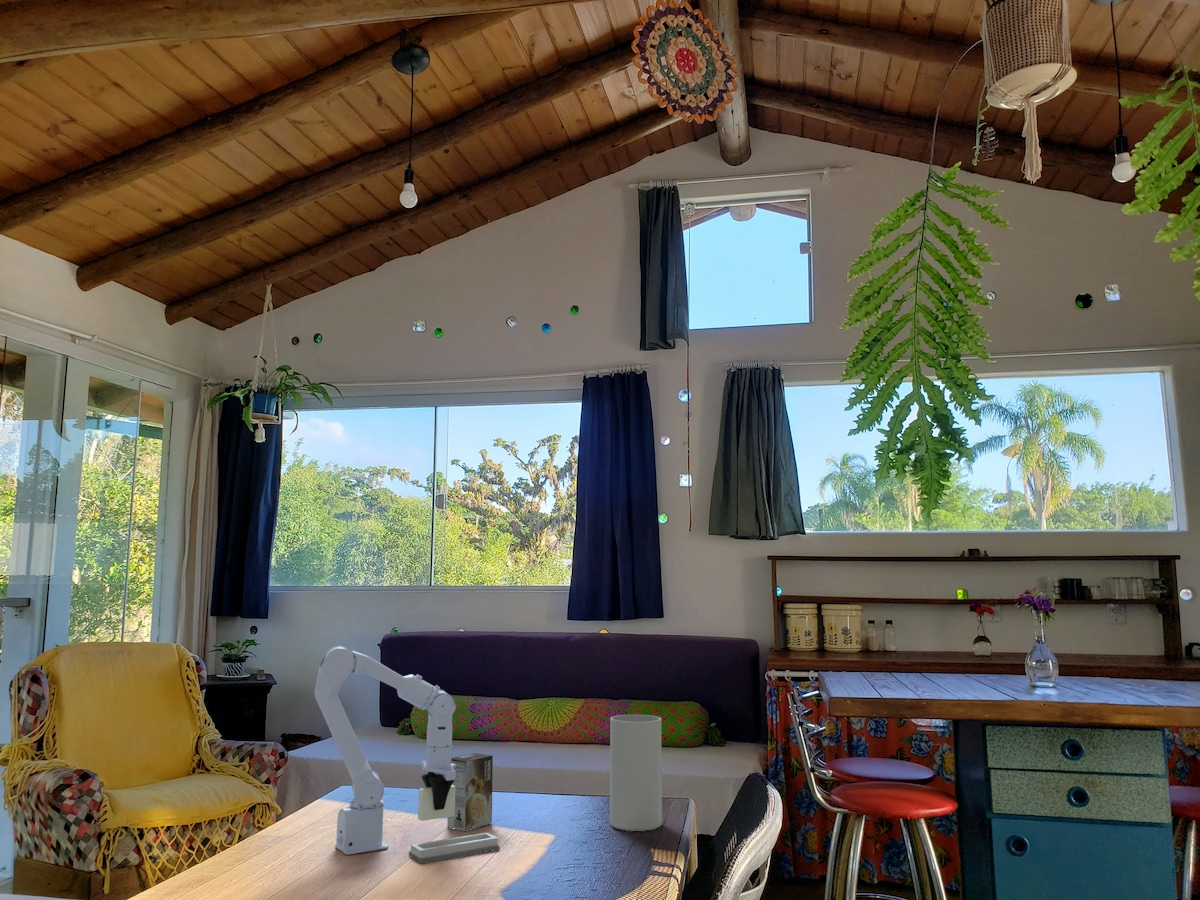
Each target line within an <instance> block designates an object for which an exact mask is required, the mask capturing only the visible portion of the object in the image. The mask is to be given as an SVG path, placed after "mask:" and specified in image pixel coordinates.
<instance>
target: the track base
mask: <svg viewBox="0 0 1200 900" xmlns="http://www.w3.org/2000/svg"><path fill="white" fill-rule="evenodd" d="M498 844H499V837H497V836H496V835H493V834H490V833H489V832H482V833H475V834H469V835H463V836H457V837H450V838H445V839H443V838H442V839H438V840H433V841H425V842H419V843H413V844H411V845H410V850H409V851H408V855H409V857H411V856H412V857H411V858H412V859H414V858H415V859H414V860H415V861H417V860H418V862H419V863H420V862H421V863H420V864H427V863H426V862H428V863H433V862H439V861H444V859H445V860H449V858H451V859H455V858H454V857H456V858H460V856H462V857H466V856H465V855H468V856H471V855H470V854H473V855H477V854H476V853H479V854H481V853H480V852H485V851H491V852H493V851H492V850H496V851H499V850H498V849H500V845H498ZM485 853H486V852H485Z"/></svg>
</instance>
